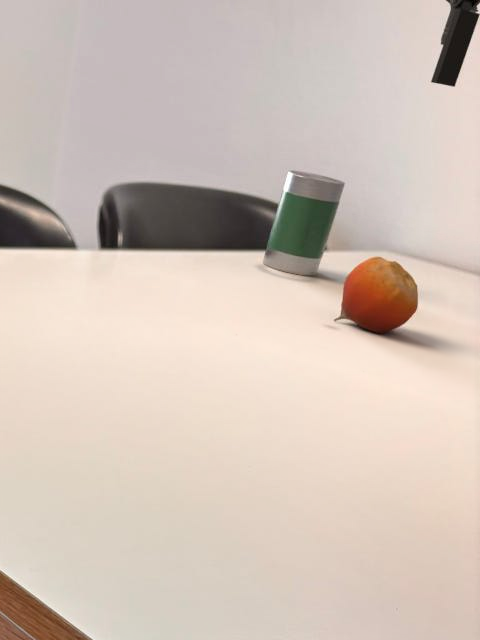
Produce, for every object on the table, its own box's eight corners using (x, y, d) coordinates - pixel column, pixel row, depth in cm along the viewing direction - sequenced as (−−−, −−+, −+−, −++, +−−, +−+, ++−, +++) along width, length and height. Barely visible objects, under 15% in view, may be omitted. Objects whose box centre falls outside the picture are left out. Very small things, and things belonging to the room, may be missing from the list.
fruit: (331, 294, 119) (389, 240, 114) (377, 348, 118) (437, 296, 114) (311, 303, 113) (371, 246, 108) (360, 360, 112) (423, 305, 107)
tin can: (318, 270, 140) (346, 181, 134) (314, 279, 134) (344, 186, 128) (265, 257, 141) (290, 168, 135) (259, 265, 135) (285, 172, 129)
